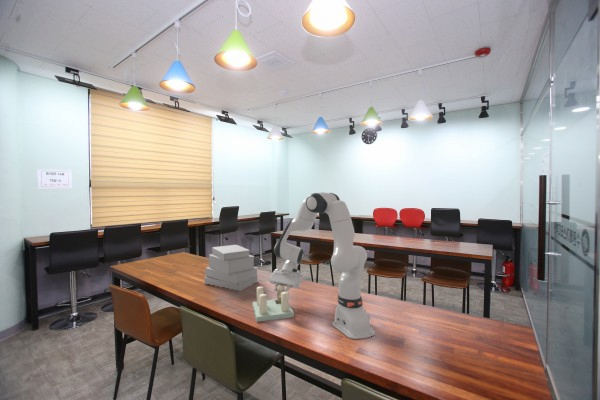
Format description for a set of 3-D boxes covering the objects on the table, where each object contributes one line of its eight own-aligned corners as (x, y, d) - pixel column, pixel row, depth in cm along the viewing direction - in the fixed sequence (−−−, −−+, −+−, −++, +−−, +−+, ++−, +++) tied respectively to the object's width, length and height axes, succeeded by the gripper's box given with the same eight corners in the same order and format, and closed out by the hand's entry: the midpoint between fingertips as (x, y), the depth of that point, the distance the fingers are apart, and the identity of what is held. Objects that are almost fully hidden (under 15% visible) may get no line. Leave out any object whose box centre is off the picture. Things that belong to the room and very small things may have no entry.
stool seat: (293, 317, 143) (293, 295, 143) (256, 321, 137) (256, 299, 137) (285, 302, 162) (285, 282, 162) (252, 306, 157) (252, 286, 156)
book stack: (237, 293, 176) (237, 255, 176) (198, 285, 191) (198, 250, 191) (262, 280, 203) (262, 247, 203) (227, 274, 219) (226, 243, 218)
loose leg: (285, 306, 157) (285, 286, 157) (279, 308, 154) (279, 287, 154) (281, 304, 160) (281, 284, 160) (275, 305, 157) (275, 285, 157)
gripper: (272, 266, 168) (263, 286, 159) (301, 270, 158) (292, 292, 150) (276, 271, 172) (267, 291, 163) (304, 276, 162) (296, 297, 154)
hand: (279, 291), depth 156 cm, fingers open, 5 cm apart
